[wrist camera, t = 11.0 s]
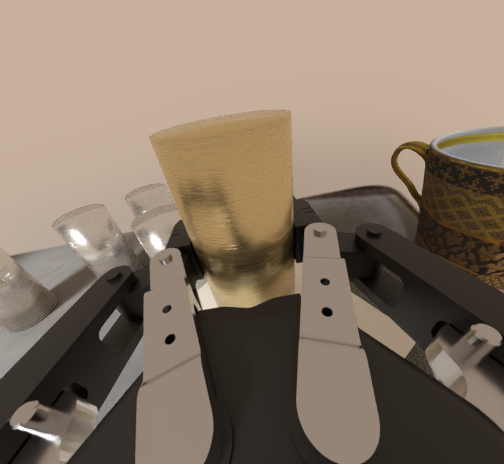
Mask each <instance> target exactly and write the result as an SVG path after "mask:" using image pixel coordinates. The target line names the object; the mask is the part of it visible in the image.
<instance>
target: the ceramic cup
mask: <svg viewBox="0 0 504 464" xmlns="http://www.w3.org/2000/svg"><path fill="white" fill-rule="evenodd" d="M403 149H411V150H413V151H415V152H416V153H418V154H419V155H420V156H421V157H422V158H423V159H424V161H425V173H424V182H423V189H422V196H420V195H419V194H418V192H417V190H416V188H415V186H414V185H413V183H412V182H411V181H410V179H409V178H408V177H407V176H406V175H405V174H404V173H403V172H402V170H401V169H400V167H399V166H398V163H397V158H398V155H399V153H400V152H401V151H402V150H403ZM391 165H392V168H393V170H394V172H395V173H396V174H397V176H398V177H399V178H400V179H401V180H402V181H403V182H404V184H405V185H406V186H407V188H408V190H409V192H410V194H411V195H412V197H413V198H414V199H415V200H416V201H417V203H418V205H419V209H420V212H419V219H418V226H417V233H416V238H415V244H417V245H419V246H420V247H422V248H424V249H426V250H428V251H429V252H431V253H433V254H435V255H437V256H438V257H440V258H442V259H444V260H446V261H447V262H449V263H451V264H453V265H455V266H456V267H458V268H460V269H462V270H464V271H465V272H467V273H469V274H471V275H473V276H474V277H476V278H478V279H480V280H482V281H483V282H485V283H487V284H489V285H491V286H492V287H494V288H496V289H498V290H500V291H501V292H503V293H504V126H501V127H488V128H476V129H469V130H462V131H457V132H452V133H448V134H445V135H442V136H440V137H438V138H436V139H434V140H433V141H432V142H431V144H430V145H428V144H426V143H423V142H418V141H414V142H407V143H405V144H402V145H400V146H399V147H398V148H397V149H396V150H395V152H394V153H393V155H392V158H391Z"/></svg>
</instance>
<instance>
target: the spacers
mask: <svg viewBox="0 0 504 464" xmlns="http://www.w3.org/2000/svg"><path fill="white" fill-rule="evenodd" d="M125 200H126V201H127V203H128V205H129V207H130V208H131V210H132V212H133V214H134V215H135V217H136V219H135V220H134V221H133V223H132V225H131V228H132V230H133V231H134V233H135V235H136V236H137V238H138V240H139V241H140V243H141V245H142V246H143V248H144V250H145V251H146V253H147V255H148V256H149V258H150V260H151V259H152V257H153V256H154V255H155V254H157V253H158V252H160V251H162V250H164V249H165V248H166V245H167V243H168V240H169V238H170V236H171V233H172V230H173V228H174V225H175V224H176V223H177V222H178V221H179V220H182V218H181V216H180V213H179V211H178V208H177V206H176V204H173V201H172V199H171V196H170V194H169V192H168V189H167V187H166V185H165V184H151V185H147V186H143V187H140V188H138V189H135V190H133V191H132V192H130V193H129V194H127V195H126V197H125ZM52 227H53V228H54V229H55V230H56V231H57V232H58V234H59V235H60V236H61V237H62V238H63V239H64V240H65V242H66V243H67V244H68V245H69V246H70V247H71V248H72V250H73V251H74V252H75V253H76V254H77V255H78V256H79V257H80V259H81V260H82V261H83V262H84V263H85V264H86V265H87V267H88V268H89V269H90V270H91V271H92V272H93V273H94V275H95V276H96V277H97V278H98V279H99V278H100V277H101V276H102V275H103V274H105V273H106V272H107V271H109V270H111V269H113V268H115V267H118V266H123V265H125V266H129V267H130V268H131V269H132V271H133V272H134V271H137V270H140V269H142V268H144V267H143V265H142V264H141V262H140V261H139V259H138V257H137V256H136V254H135V253H134V251H133V250H132V248H131V247H130V245H129V244H128V242H127V240H126V239H125V237H124V236H123V234H122V233H121V231H120V230H119V228H118V227H117V225H116V224H115V222H114V221H113V219H112V217H111V216H110V214H109V213H108V211H107V210H106V208H105V207H104V205H101V204H94V205H89V206H85V207H81V208H79V209H76V210H73V211H71V212H69V213H67V214H65V215H63V216H61V217H60V218H58V219H57V220H56V221H55V222H54V223H53V224H52ZM206 281H207V280H206V277H205V275H204V279H202V280H197V282H196V287H197V289H198V290H199V289H200V288H201V287H202V286H203V285H204V284H205V283H206ZM57 302H58V298H57V297H56V296H55V295H54V294H53V293H52V292H50V291H49V290H48V289H47V288H46V287H45V286H43V285H42V284H41V283H40V282H39V281H38V280H37V279H35V278H34V277H33V276H32V275H31V274H30V273H29V272H27V271H26V270H25V269H24V268H23V267H22V266H21V265H19V264H18V263H17V262H16V261H15V260H14V259H12V258H11V257H10V256H9V255H8V254H7V253H6V252H4V251H3V250H2V249H1V248H0V326H1V327H2V328H4V329H6V330H7V331H9V332H19V331H23V330H25V329H27V328H30V327H31V326H33V325H35V324H37V323H38V322H40V321H41V320H42V319H44V318H45V317H46V316H47V315H48V314H49V313H50V312H51V311H52V310H53V309H54V308H55V306H56V305H57Z"/></svg>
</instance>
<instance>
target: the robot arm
mask: <svg viewBox="0 0 504 464" xmlns="http://www.w3.org/2000/svg"><path fill="white" fill-rule="evenodd" d="M293 213H294V254H295V261H296V263H302V262H303V269H302V291H301V295H300V293H298V294H292V295H286V296H280V297H275V298H272V299H270V300H268V301H265V302H263V303H260V304H258V305H256V306H253V307H251V308H240V307H224V306H223V307H217V308H211V309H205V310H203V306H202V303H201V300H200V296H199V293H198V289H197V287H196V282H197V280H202V279H204V272H203V270H202V268H201V265H200V263H199V260H198V258H197V255H196V253H195V250H194V248H193V245H192V243H191V240H190V238H189V235H188V233H187V230H186V228H185V225H184V223H183V220H179V221H178V222H177V223H176V224H175V225H174V228H173V230H172V233H171V236H170V238H169V240H168V243H167V245H166V248H165V249H164V250H162V251H160V252H158V253H157V254H155V255H154V256H153V257H152V259H151V260H150V265H149V266H147V267H145V268H142V269H140V270H137V271H134V272H133V271H132V269H131V268H130V267H129V266H125V265H123V266H118V267H115V268H113V269H111V270H109V271H107V272H106V273H105V274H103V275H102V276H101V277H100V278H99V279H98V280H97V281H96V282H95V283H94V284H93V285H92V286H91V287H90V288H89V289H88V290H87V291H86V292H85V293H84V294H83V295H82V297H81V298H80V299H79V300H78V301H77V302H76V303H75V304H74V305H73V306H72V307H71V308H70V309H69V310H68V311H67V312H66V313H65V314H64V315H63V316H62V317H61V318H60V319H59V320H58V321H57V322H56V323H55V324H54V325H53V326H52V327H51V328H50V329H49V330H48V331H47V332H46V333H45V334H44V335H43V336H42V337H41V338H40V339H39V340H38V341H37V343H36V344H35V345H34V346H33V347H32V348H31V349H30V350H29V351H28V352H27V353H26V354H25V355H24V356H23V357H22V358H21V359H20V360H19V361H18V362H17V363H16V364H15V365H14V366H13V367H12V368H11V369H10V370H9V371H8V372H7V373H6V374H5V375H4V376H3V377H2V378H1V379H0V464H504V293H503V292H501V291H500V290H498V289H496V288H494V287H492V286H491V285H489V284H487V283H485V282H483V281H482V280H480V279H478V278H476V277H474V276H473V275H471V274H469V273H467V272H465V271H464V270H462V269H460V268H458V267H456V266H455V265H453V264H451V263H449V262H447V261H446V260H444V259H442V258H440V257H438V256H437V255H435V254H433V253H431V252H429V251H428V250H426V249H424V248H422V247H420V246H419V245H417V244H415V243H413V242H411V241H410V240H408V239H406V238H404V237H403V236H401V235H399V234H397V233H395V232H394V231H392V230H390V229H388V228H386V227H384V226H382V225H378V224H363V225H360V226H359V227H357V229H356V233H339V232H336V229H335V228H334V227H333V226H331V225H329V224H326V223H322V221H321V220H320V219H319V217H318V216H317V215H316V213H315V212H314V210H313V209H312V208H311V206H310V205H309V203H308V202H306V201H304V200H302V199H299V200H296V199H295V197H294V196H293ZM383 266H385V267H386V268H388V269H389V270H391V271H392V272H393V273H395V274H396V275H397V276H399V277H400V278H401V280H402V281H403V283H404V286H403V285H402V284H401V283H399V282H398V281H397V280H395V279H394V278H393V277H391V276H390V275H389V274H388V273H386V272H385V271H384V270H382V269H383ZM348 278H349V279H350V280H351V282H353V283H354V284H355V285H356V286H357V287H358V288H359V289H360V290H361V291H362V292H363V293H364V294H365V295H366V296H367V297H368V298H369V299H370V300H372V301H373V302H374V303H375V304H376V305H377V306H378V307H379V308H380V309H381V310H382V311H383V312H384V313H385V314H386V315H387V316H388V317H389V318H391V319H392V320H393V321H394V322H395V323H396V324H397V325H398V326H399V327H400V328H401V329H402V330H403V331H404V332H405V333H406V334H407V335H408V336H410V337H411V338H412V339H413V340H414V341H415V342H416V343H417V344H418V345H419V346H420V347H421V348H422V349H423V350H424V351H425V354H426V358H427V361H428V363H429V365H430V367H431V368H432V372H433V375H434V376H435V378H436V379H437V380H436V379H435V378H433V377H432V376H430V375H429V374H427V373H426V372H424V371H423V370H421V369H420V368H418V367H417V366H415V365H414V364H412V363H411V362H409V361H408V360H406V359H405V358H403V357H402V356H400V355H399V354H397V353H396V352H394V351H393V350H391V349H390V348H388V347H387V346H385V345H384V344H382V343H381V342H379V341H378V340H376V339H375V338H373V337H372V336H370V335H369V334H367V333H366V332H364V331H363V330H361V329H360V328H358V327H357V321H356V316H355V311H354V305H353V300H352V295H351V289H350V284H349V279H348ZM115 309H117V310H118V311H119V312H120V313H121V315H120V317H119V318H118V319H117V321H116V322H115V323H114V325H113V326H112V328H111V329H110V330H109V332H108V333H107V334H106V336H105V337H104V339H103V340H102V341H101V340H100V339H99V331H100V329H101V327H102V326H103V324H104V323H105V322H106V321H107V319H108V318H109V317H110V315H111V314H112V313H113V311H114V310H115ZM143 334H144V335H143ZM142 336H143V372H142V373H141V374H140V376H139V377H138V378H137V379H136V380H135V381H134V383H133V384H132V385H131V386H130V387H129V389H128V390H127V391H126V392H125V393H124V395H123V396H122V397H121V398H120V399H119V400H118V402H117V403H116V404H115V405H114V406H113V408H112V409H111V410H110V411H109V412H108V414H107V415H106V416H105V417H104V418H103V419H102V421H101V422H100V423H99V424H98V425H96V422H97V418H98V411H99V409H100V408H101V406H102V404H103V403H104V401H105V399H106V398H107V396H108V394H109V392H110V391H111V389H112V387H113V386H114V384H115V382H116V380H117V379H118V377H119V375H120V374H121V372H122V370H123V369H124V367H125V365H126V363H127V362H128V360H129V358H130V357H131V355H132V353H133V351H134V350H135V348H136V346H137V345H138V343H139V341H140V340H141V338H142Z"/></svg>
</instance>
